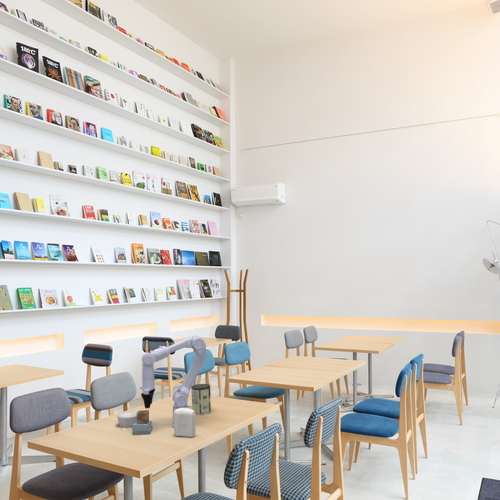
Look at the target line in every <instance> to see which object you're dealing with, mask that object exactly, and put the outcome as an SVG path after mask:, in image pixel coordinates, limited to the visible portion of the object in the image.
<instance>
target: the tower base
mask: <svg viewBox="0 0 500 500" xmlns="http://www.w3.org/2000/svg"><path fill="white" fill-rule="evenodd" d="M152 431H153V425H152V426H151V427H150V428H149V429H148V430H147V431H137V430H132V436H143V435H144V436H146V435H147V436H149V435H151V434H152Z"/></svg>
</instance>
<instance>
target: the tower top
mask: <svg viewBox="0 0 500 500" xmlns="http://www.w3.org/2000/svg"><path fill="white" fill-rule="evenodd" d="M151 426H152V427H153V425H152V420H149V422H148V424H137V422H135V423H134V424H133V425H132V427H131V431H133V430H137V431H147V430H148V429H149V428H150V427H151Z"/></svg>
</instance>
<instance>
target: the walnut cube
mask: <svg viewBox="0 0 500 500" xmlns="http://www.w3.org/2000/svg"><path fill="white" fill-rule="evenodd" d="M136 412H137V424H148V422H149V421H150V409H148V410H143V409H142V410H138V411H136Z"/></svg>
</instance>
